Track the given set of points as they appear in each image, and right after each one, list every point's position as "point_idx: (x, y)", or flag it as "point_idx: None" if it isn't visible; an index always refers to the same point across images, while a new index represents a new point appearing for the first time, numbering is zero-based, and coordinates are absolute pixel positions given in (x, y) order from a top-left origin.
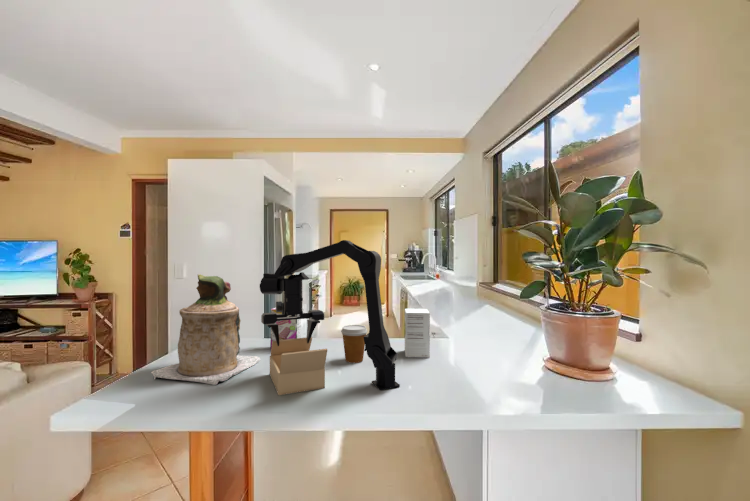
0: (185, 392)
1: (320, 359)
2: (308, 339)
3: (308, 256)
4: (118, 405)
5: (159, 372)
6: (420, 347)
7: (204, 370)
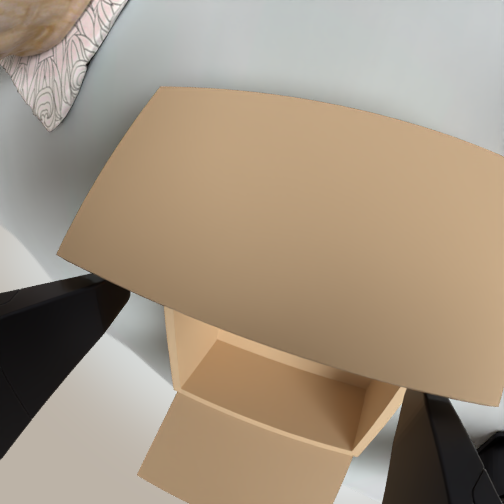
0: (22, 148)
1: (308, 498)
2: (400, 437)
3: None
4: None
5: None
6: None
7: (17, 55)
